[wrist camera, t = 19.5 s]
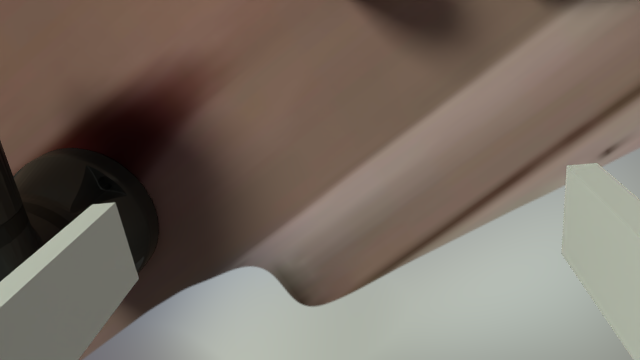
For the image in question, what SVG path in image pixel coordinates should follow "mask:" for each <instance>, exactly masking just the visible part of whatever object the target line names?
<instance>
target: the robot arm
mask: <svg viewBox="0 0 640 360" xmlns="http://www.w3.org/2000/svg"><path fill="white" fill-rule="evenodd" d="M563 222H564V223H563V237H562V255H563V256H564V258H565V259H566V261H567V262H568V264H569V265H570V267H571V268H572V270H573V271H574V273H575V274H576V276H577V277H578V278H579V280H580V281H581V283H582V285H583V286H584V287H585V289H586V290H587V292H588V293H589V295H590V296H591V298H592V299H593V301H594V302H595V304H596V305H597V307H598V308H599V309H600V311H601V312H602V314H603V316H604V317H605V318H606V320H607V321H608V323H609V324H610V326H611V327H612V329H613V330H614V332H615V333H616V335H617V336H618V338H619V339H620V341H621V342H622V343H623V345H624V346H625V348H626V349H627V351H628V352H629V354H630V355H631V357H632V358H633V360H640V200H639V199H638V198H637V197H636V196H635V195H634V194H632V193H631V192H630V191H629V190H628V189H626V188H625V187H624V186H623V185H622V184H621V183H619V182H618V181H617V180H616V179H615V178H614V177H612V176H611V175H610V174H609V173H608V172H606V171H605V170H604V169H603V168H602V167H601V166H599V165H598V164H597V163H594V164H581V165H569V166H567V172H566V188H565V204H564V221H563ZM158 232H159V228H158V219H157V214H156V211H155V208H154V205H153V203H152V200H151V198H150V197H149V195H148V193H147V192H146V190H145V188H144V187H143V186H142V184H141V183H140V182H139V181H138V180H137V179H136V177H135V176H134V175H133V174H131V173H130V172H129V171H128V170H127V169H126V168H124V167H123V166H122V165H120V164H119V163H117V162H116V161H114V160H112V159H111V158H108V157H106V156H104V155H102V154H99V153H96V152H93V151H90V150H85V149H78V148H65V149H58V150H54V151H51V152H48V153H46V154H44V155H42V156H40V157H38V158H36V159H34V160H33V161H31V162H29V163H28V164H26V165H25V166H24V167H22V168H21V169H20V170H19V171H18V172H17V173H16V174H15V175H14V177H13V175H12V172H11V169H10V166H9V164H8V161H7V158H6V155H5V152H4V150H3V147H2V144H1V141H0V360H78V359H79V358H80V357H81V355H82V354H83V353H84V351H85V350H86V349H87V347H88V346H89V345H90V343H91V342H92V341H93V339H94V338H95V337H96V335H97V334H98V333H99V331H100V330H101V329H102V327H103V326H104V325H105V323H106V322H107V321H108V319H109V318H110V317H111V315H112V314H113V313H114V311H115V310H116V309H117V307H118V306H119V305H120V303H121V302H122V301H123V299H124V298H125V297H126V295H127V294H128V293H129V291H130V290H131V289H132V287H133V286H134V285H135V283H136V282H137V281H138V279H139V277H138V274H137V273H138V272H139V271H140V270H141V269H142V268H143V266H144V265H145V264H146V263H147V262H148V260H149V259H150V257H151V256H152V254H153V252H154V250H155V248H156V245H157V240H158Z"/></svg>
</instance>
